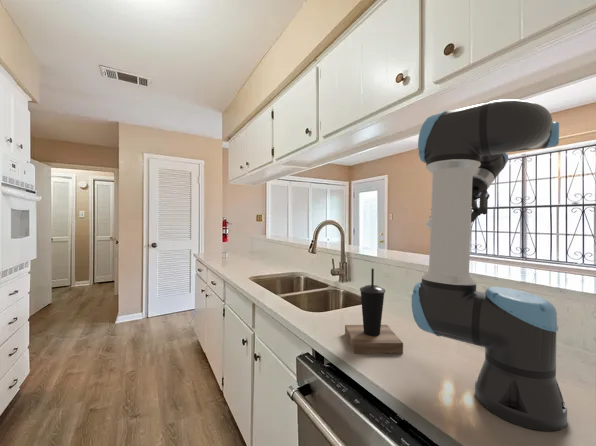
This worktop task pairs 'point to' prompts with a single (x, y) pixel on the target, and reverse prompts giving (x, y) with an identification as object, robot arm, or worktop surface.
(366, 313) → the drinking cup
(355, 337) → the walnut riser
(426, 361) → the worktop surface
